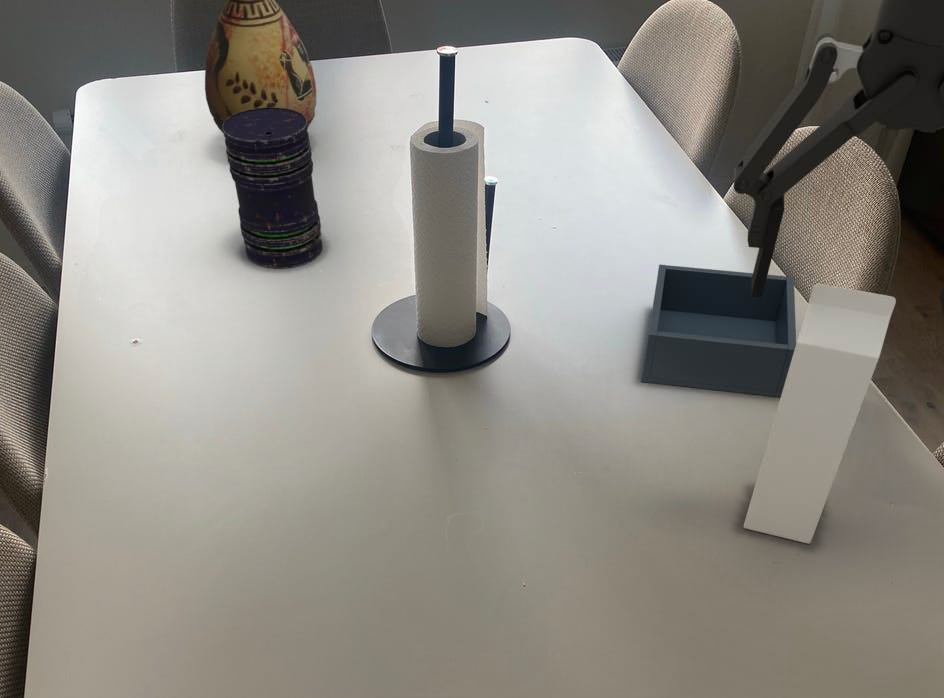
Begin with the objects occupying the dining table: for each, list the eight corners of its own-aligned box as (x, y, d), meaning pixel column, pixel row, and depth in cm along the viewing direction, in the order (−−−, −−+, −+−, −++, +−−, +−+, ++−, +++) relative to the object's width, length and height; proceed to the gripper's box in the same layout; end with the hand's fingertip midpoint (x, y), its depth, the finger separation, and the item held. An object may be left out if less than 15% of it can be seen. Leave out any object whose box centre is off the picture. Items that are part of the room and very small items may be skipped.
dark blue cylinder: (240, 237, 122) (216, 112, 110) (315, 226, 123) (299, 102, 112) (251, 274, 115) (226, 146, 104) (330, 262, 117) (314, 135, 106)
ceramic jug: (317, 173, 134) (285, -88, 111) (208, 173, 134) (155, -87, 111) (329, 125, 145) (302, -122, 122) (229, 125, 145) (184, -121, 122)
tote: (781, 323, 107) (794, 276, 103) (782, 397, 98) (796, 349, 93) (652, 310, 109) (659, 264, 105) (641, 381, 100) (648, 334, 96)
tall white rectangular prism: (809, 545, 83) (895, 319, 67) (741, 528, 85) (807, 303, 68) (819, 502, 87) (902, 278, 70) (753, 487, 88) (819, 263, 72)
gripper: (741, -44, 53) (677, 305, 69) (1225, -17, 49) (1039, 343, 66) (743, -78, 58) (683, 256, 74) (1185, -55, 54) (1020, 289, 70)
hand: (850, 298), depth 70 cm, fingers open, 13 cm apart
